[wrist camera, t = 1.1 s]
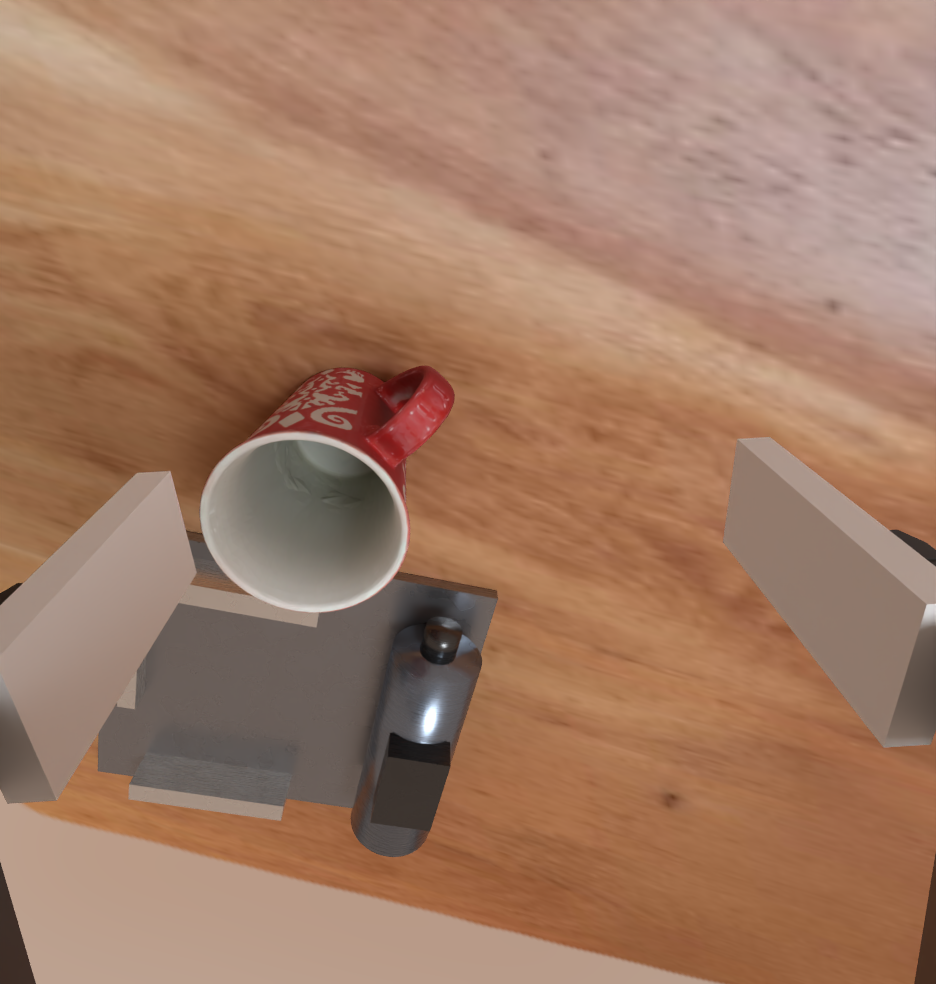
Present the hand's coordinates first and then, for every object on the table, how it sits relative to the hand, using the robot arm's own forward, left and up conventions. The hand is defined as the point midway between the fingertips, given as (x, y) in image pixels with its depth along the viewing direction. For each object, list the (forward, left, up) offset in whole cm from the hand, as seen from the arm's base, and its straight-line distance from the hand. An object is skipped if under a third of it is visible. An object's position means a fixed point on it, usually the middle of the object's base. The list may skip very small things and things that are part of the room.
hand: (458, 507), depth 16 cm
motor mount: (-6, -29, -25) cm, 38 cm away
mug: (-4, -7, -25) cm, 26 cm away
